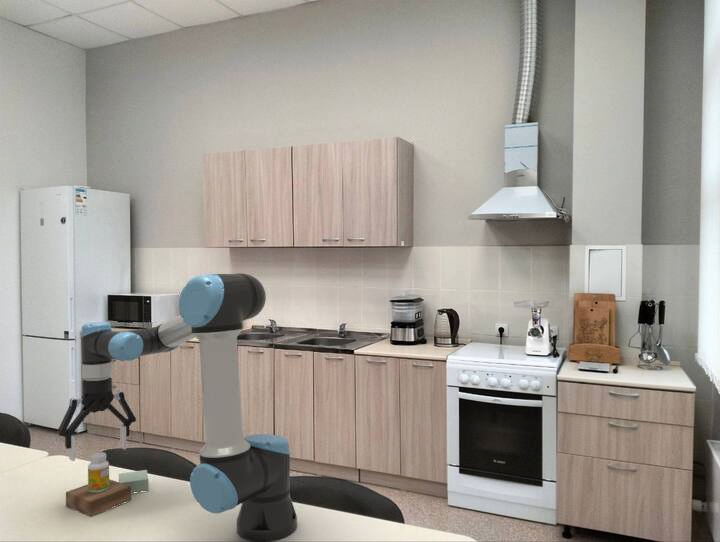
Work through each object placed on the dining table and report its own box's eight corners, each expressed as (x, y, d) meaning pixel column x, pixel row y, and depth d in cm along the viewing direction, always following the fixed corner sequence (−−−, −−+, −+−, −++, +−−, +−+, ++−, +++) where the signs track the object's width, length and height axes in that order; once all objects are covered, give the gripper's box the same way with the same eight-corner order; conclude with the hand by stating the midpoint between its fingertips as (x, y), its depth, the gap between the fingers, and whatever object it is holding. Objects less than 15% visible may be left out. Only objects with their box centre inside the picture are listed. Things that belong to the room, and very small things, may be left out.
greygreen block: (148, 492, 167) (148, 478, 166) (118, 497, 163) (118, 483, 163) (147, 482, 174) (146, 469, 174) (118, 486, 171) (118, 473, 171)
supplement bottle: (83, 491, 157) (83, 456, 157) (100, 484, 162) (100, 450, 162) (96, 494, 155) (96, 459, 154) (113, 487, 159) (113, 453, 159)
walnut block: (131, 500, 160) (130, 486, 160) (91, 516, 150) (90, 501, 150) (105, 491, 167) (105, 477, 167) (66, 506, 157) (65, 492, 156)
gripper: (137, 370, 169) (138, 440, 169) (43, 382, 152) (45, 461, 152) (146, 373, 163) (148, 446, 164) (51, 386, 147) (52, 468, 147)
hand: (98, 453), depth 158 cm, fingers open, 13 cm apart
